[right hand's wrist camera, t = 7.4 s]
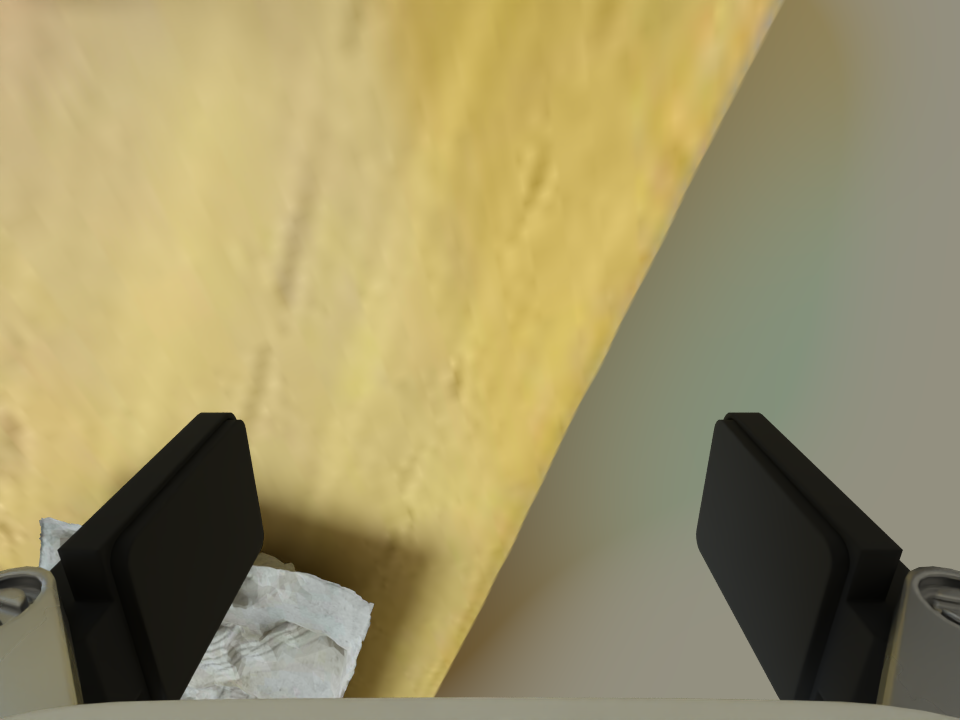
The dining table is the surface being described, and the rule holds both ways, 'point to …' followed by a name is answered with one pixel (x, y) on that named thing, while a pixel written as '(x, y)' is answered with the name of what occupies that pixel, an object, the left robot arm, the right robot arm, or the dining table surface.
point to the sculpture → (269, 632)
